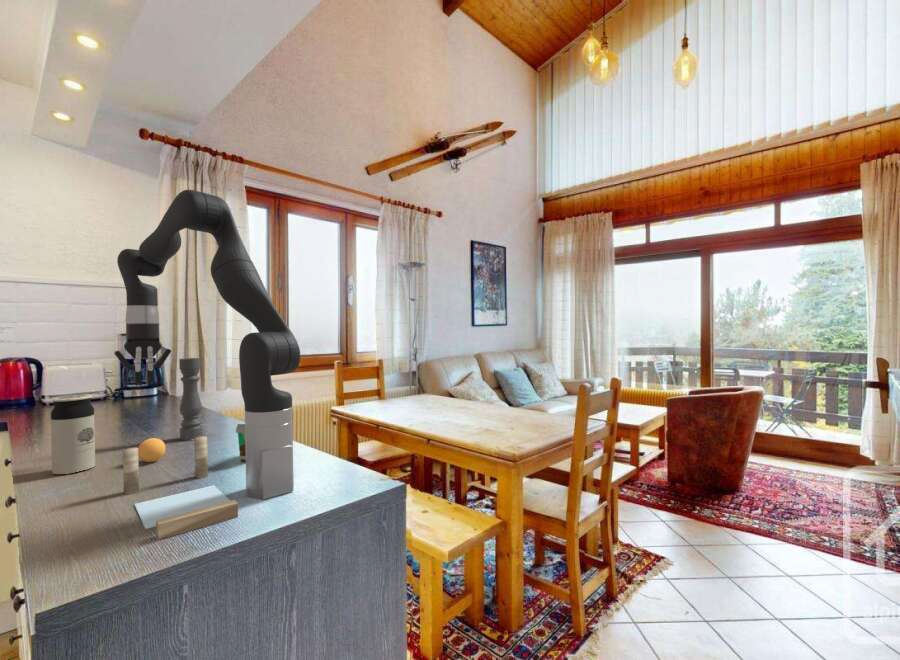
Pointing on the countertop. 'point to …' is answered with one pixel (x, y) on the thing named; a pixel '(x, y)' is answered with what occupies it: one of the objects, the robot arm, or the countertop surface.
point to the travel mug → (72, 434)
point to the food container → (241, 441)
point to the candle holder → (190, 399)
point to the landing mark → (178, 504)
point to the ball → (151, 450)
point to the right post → (201, 457)
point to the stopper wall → (196, 519)
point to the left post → (130, 470)
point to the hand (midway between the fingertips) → (144, 384)
